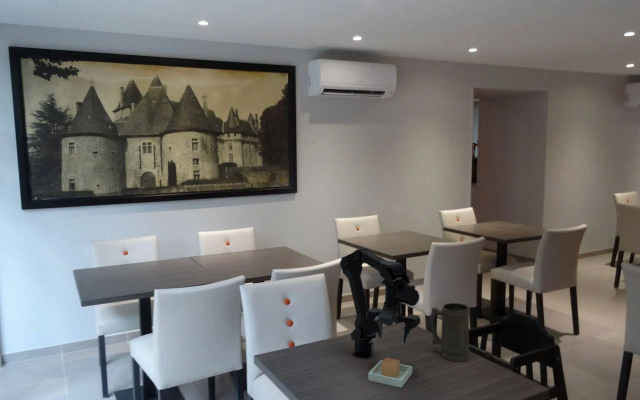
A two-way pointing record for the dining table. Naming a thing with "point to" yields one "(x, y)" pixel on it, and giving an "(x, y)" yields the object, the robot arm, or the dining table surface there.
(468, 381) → the dining table surface
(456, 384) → the dining table surface
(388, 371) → the orange cube
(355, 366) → the dining table surface
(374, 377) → the sage tray
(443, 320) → the beer stein
